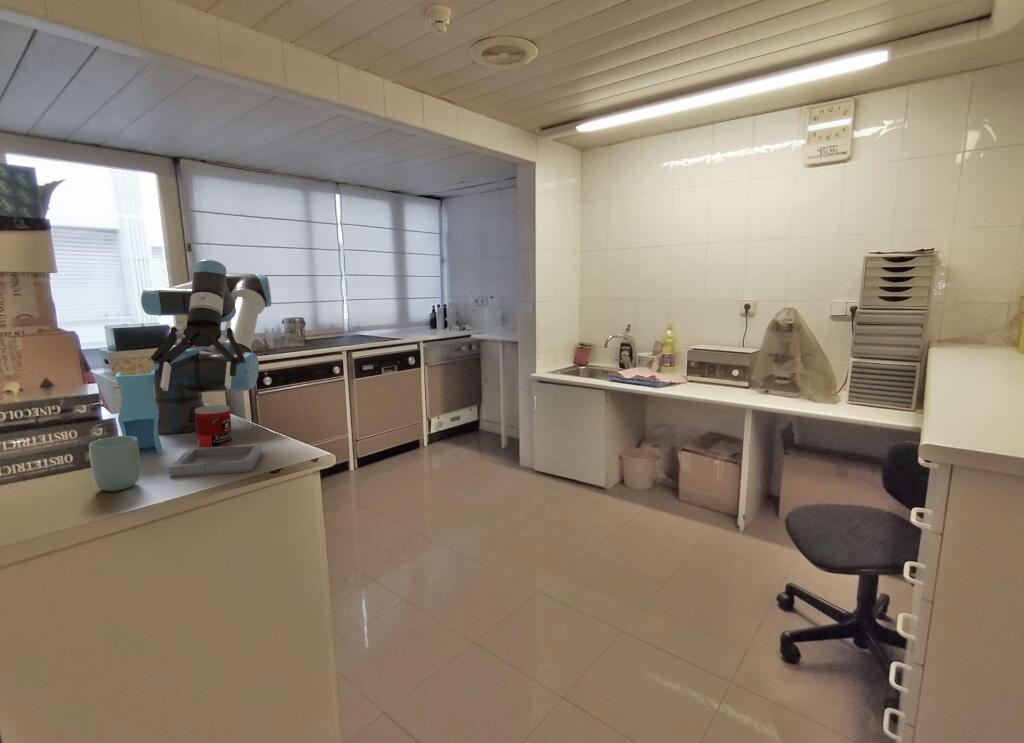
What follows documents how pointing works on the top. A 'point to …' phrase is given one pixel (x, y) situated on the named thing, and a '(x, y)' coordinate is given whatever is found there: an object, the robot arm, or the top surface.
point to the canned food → (213, 426)
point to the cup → (115, 462)
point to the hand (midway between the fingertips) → (196, 388)
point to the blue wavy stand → (139, 409)
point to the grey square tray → (216, 460)
